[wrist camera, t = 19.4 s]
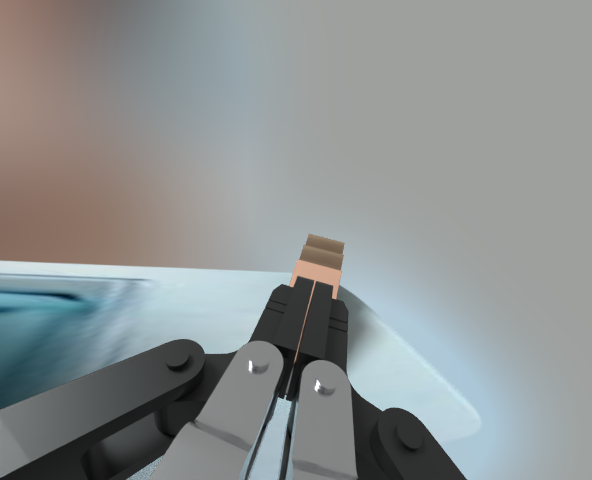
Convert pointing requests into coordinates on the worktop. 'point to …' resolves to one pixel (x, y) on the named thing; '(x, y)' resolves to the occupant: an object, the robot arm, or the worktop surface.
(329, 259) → the walnut domino
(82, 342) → the worktop surface
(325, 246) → the walnut domino
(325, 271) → the salmon pink domino
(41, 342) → the worktop surface
